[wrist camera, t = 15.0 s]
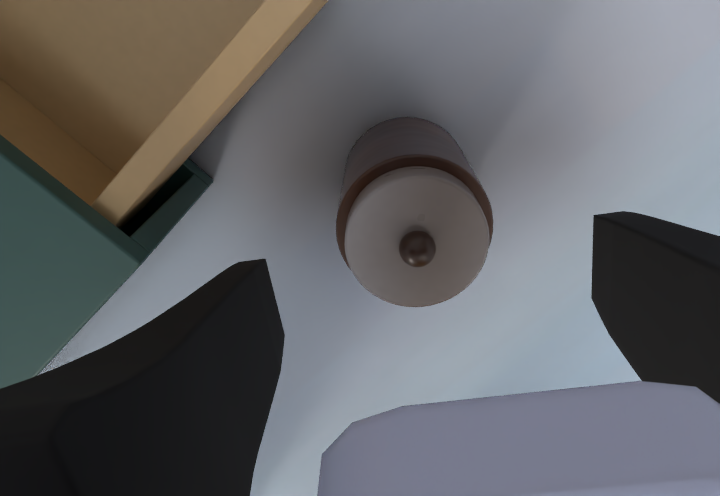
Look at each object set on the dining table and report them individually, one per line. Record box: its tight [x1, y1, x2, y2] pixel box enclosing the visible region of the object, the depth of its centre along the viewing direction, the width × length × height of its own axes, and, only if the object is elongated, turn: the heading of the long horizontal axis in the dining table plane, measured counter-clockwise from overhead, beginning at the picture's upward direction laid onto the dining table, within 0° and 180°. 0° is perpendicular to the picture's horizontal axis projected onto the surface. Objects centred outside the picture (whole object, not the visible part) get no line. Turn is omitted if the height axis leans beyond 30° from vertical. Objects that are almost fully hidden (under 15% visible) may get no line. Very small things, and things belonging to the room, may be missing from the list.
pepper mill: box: [336, 117, 493, 307], centre depth 17 cm, size 5×5×7 cm
